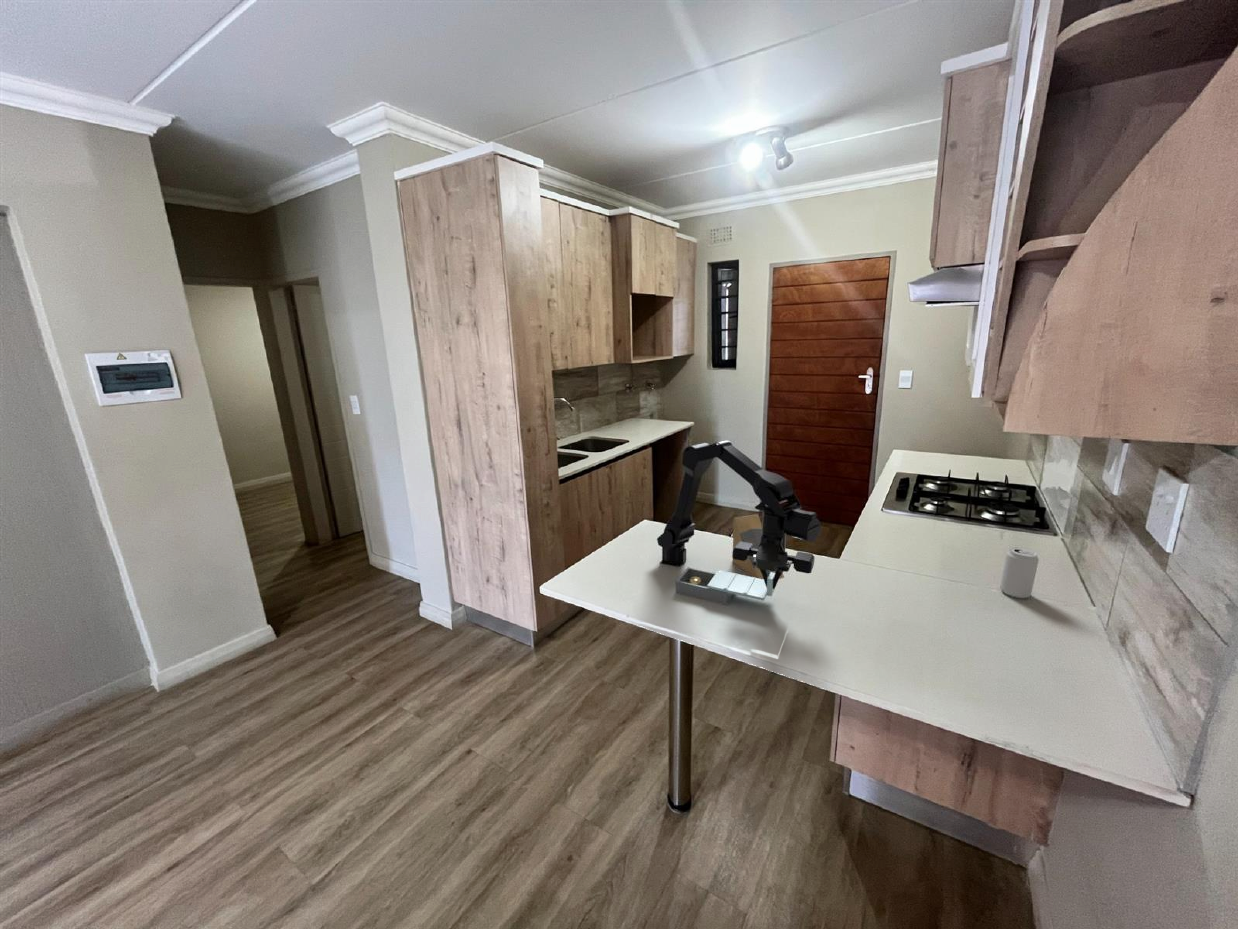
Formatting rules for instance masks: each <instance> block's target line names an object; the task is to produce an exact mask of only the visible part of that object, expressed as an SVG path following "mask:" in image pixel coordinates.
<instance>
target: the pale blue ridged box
mask: <svg viewBox="0 0 1238 929" xmlns="http://www.w3.org/2000/svg"><path fill="white" fill-rule="evenodd" d="M715 573H716V574H715V575H714V577H713V578H712V580H711V581H710V582H709V584H708V585H707V588H710V589H714V590H719V591H723V592H727V593H732V594H733V595H736V596H741V597H746V598H750V599H754V600H758V601H762V602H765V600H766V598H767V596H768V597H772V596H773V594H774V592H775V589H773V581H774V576H775V573H773V572H770V574H769V576H768V578H767V587H766V585H765V582H764V580H763V579H759V578H755V577H752V576H749V575H744V574H739V573H736V572H730V571H724V570H720V569H718V570H717V571H716V572H715Z"/></svg>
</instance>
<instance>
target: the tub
mask: <svg viewBox="0 0 1238 929" xmlns="http://www.w3.org/2000/svg"><path fill="white" fill-rule="evenodd" d="M716 573H717V572H711V571H708V570H702V569H698V568H694V567H689V566H687V567H686V569H685V570H684V571H683V572H682V574H680V576H679V577H678V579H676V581H675V594H679V595H684V596H687V597H691V598H696V599H699V600H704V601H708V602H712V603H715V604H716V603H717V604H720V605H725V606H728V605H729V602H730V601H731V599H732V598H733V595H734V594H732V593H727V592H723V591H719V590H714V589H710V588H707V585H708V584H709V582H710V581H711V580H712V578H713V577H714V575H715V574H716ZM691 577H699V578H700V579H701V586H700V585H695V584H691V583H690V578H691Z"/></svg>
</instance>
